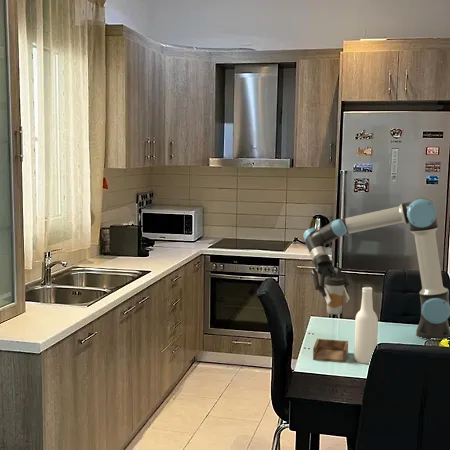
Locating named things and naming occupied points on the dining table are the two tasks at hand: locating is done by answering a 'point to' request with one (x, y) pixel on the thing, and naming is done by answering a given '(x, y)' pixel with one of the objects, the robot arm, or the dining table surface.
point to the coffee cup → (335, 294)
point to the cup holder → (330, 350)
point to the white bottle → (365, 328)
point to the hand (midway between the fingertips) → (338, 301)
